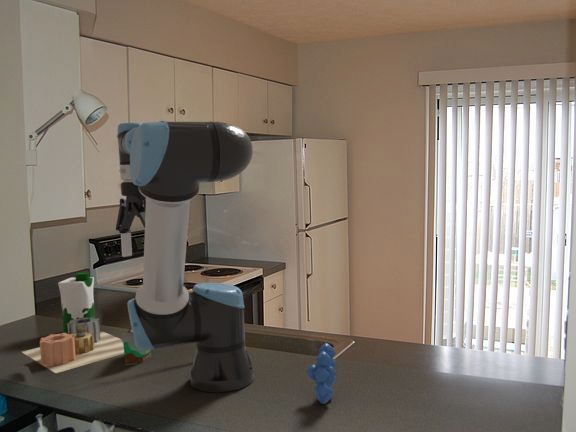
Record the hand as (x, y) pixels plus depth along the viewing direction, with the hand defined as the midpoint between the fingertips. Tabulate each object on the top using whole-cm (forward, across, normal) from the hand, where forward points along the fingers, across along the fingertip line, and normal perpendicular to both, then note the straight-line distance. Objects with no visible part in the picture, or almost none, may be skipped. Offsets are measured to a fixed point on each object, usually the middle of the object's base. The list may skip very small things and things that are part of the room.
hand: (139, 258), depth 152 cm
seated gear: (+25, -19, -8) cm, 33 cm away
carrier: (+27, -12, -13) cm, 32 cm away
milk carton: (+27, -29, -5) cm, 40 cm away
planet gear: (+25, -9, -20) cm, 34 cm away
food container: (+27, +7, -5) cm, 28 cm away
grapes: (+27, +57, +10) cm, 64 cm away
